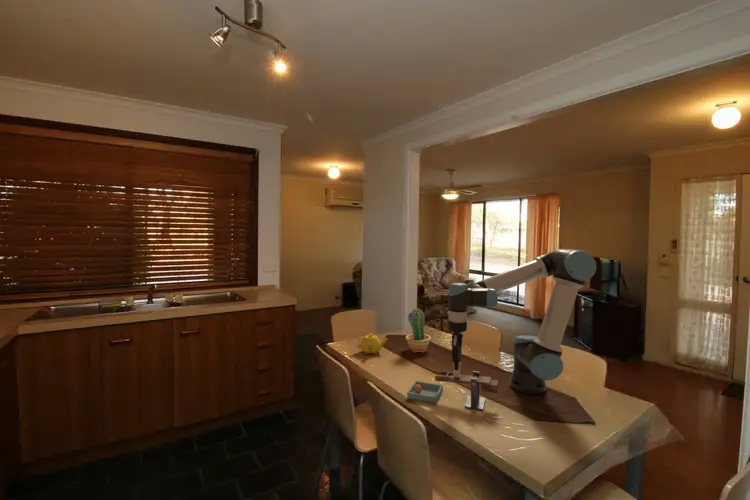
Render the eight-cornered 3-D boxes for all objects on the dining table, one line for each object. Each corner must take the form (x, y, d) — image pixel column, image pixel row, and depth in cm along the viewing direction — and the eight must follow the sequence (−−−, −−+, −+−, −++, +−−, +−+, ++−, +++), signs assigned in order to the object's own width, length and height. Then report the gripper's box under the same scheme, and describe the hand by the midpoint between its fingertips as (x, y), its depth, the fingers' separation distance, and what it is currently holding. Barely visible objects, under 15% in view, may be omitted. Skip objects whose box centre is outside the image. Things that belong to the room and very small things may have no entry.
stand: (485, 399, 146) (485, 371, 145) (482, 411, 136) (482, 381, 136) (468, 396, 148) (468, 369, 148) (464, 407, 139) (464, 378, 138)
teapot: (370, 358, 195) (370, 339, 194) (354, 352, 204) (354, 334, 204) (388, 352, 205) (388, 333, 204) (372, 347, 214) (372, 329, 214)
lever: (498, 387, 141) (497, 374, 141) (497, 393, 136) (496, 380, 136) (438, 382, 151) (437, 370, 151) (435, 387, 145) (434, 375, 145)
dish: (442, 391, 154) (442, 385, 154) (436, 404, 142) (436, 397, 142) (415, 386, 159) (415, 380, 159) (407, 398, 147) (407, 392, 147)
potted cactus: (403, 346, 215) (403, 306, 213) (427, 345, 216) (427, 305, 215) (408, 355, 199) (408, 312, 198) (434, 354, 201) (434, 311, 200)
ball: (424, 386, 152) (417, 381, 153) (421, 389, 149) (414, 384, 150) (420, 392, 153) (413, 387, 154) (418, 396, 150) (411, 391, 151)
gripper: (451, 316, 151) (450, 369, 152) (445, 323, 139) (444, 381, 140) (469, 317, 148) (468, 372, 149) (464, 325, 136) (463, 384, 137)
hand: (456, 376), depth 145 cm, fingers closed
